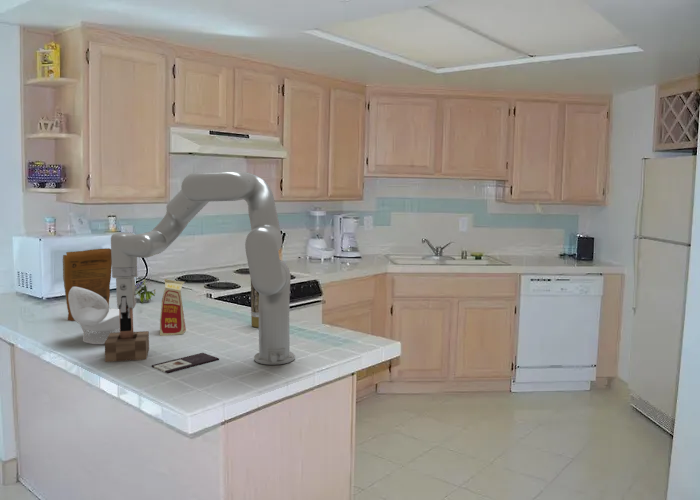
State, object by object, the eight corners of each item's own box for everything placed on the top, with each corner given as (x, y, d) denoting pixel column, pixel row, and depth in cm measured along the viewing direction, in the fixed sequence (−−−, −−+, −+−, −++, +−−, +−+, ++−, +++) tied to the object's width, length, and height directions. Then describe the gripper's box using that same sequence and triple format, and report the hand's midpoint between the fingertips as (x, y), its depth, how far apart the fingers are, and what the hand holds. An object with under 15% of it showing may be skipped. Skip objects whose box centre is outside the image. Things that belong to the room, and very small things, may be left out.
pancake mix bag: (117, 317, 246) (114, 248, 243) (66, 323, 236) (62, 251, 232) (113, 314, 252) (110, 246, 248) (63, 319, 241) (59, 249, 238)
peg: (132, 339, 193) (131, 302, 191) (119, 340, 192) (118, 303, 190) (134, 336, 196) (132, 300, 195) (121, 337, 195) (119, 300, 194)
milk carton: (160, 335, 218) (158, 280, 216) (160, 329, 227) (159, 276, 225) (186, 334, 221) (184, 279, 218) (186, 328, 229) (184, 275, 227)
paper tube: (265, 328, 229) (265, 262, 226) (248, 327, 231) (247, 262, 228) (271, 324, 236) (271, 260, 233) (255, 323, 237) (254, 259, 234)
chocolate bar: (219, 358, 190) (167, 371, 177) (219, 361, 190) (167, 374, 177) (202, 352, 196) (151, 365, 183) (202, 355, 196) (151, 368, 183)
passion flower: (133, 313, 278) (125, 290, 282) (157, 306, 283) (148, 283, 287) (134, 303, 269) (126, 279, 273) (159, 296, 274) (150, 273, 278)
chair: (143, 338, 215) (141, 282, 213) (92, 351, 199) (89, 291, 196) (109, 330, 226) (107, 276, 224) (58, 341, 210) (55, 284, 208)
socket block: (146, 359, 190) (145, 340, 190) (105, 361, 187) (104, 342, 187) (149, 348, 202) (148, 331, 201) (110, 351, 199) (109, 333, 198)
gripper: (134, 276, 184) (136, 335, 186) (139, 267, 200) (141, 322, 203) (108, 276, 182) (110, 336, 185) (115, 268, 199) (117, 323, 201)
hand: (126, 328), depth 194 cm, fingers closed on peg, 4 cm apart
